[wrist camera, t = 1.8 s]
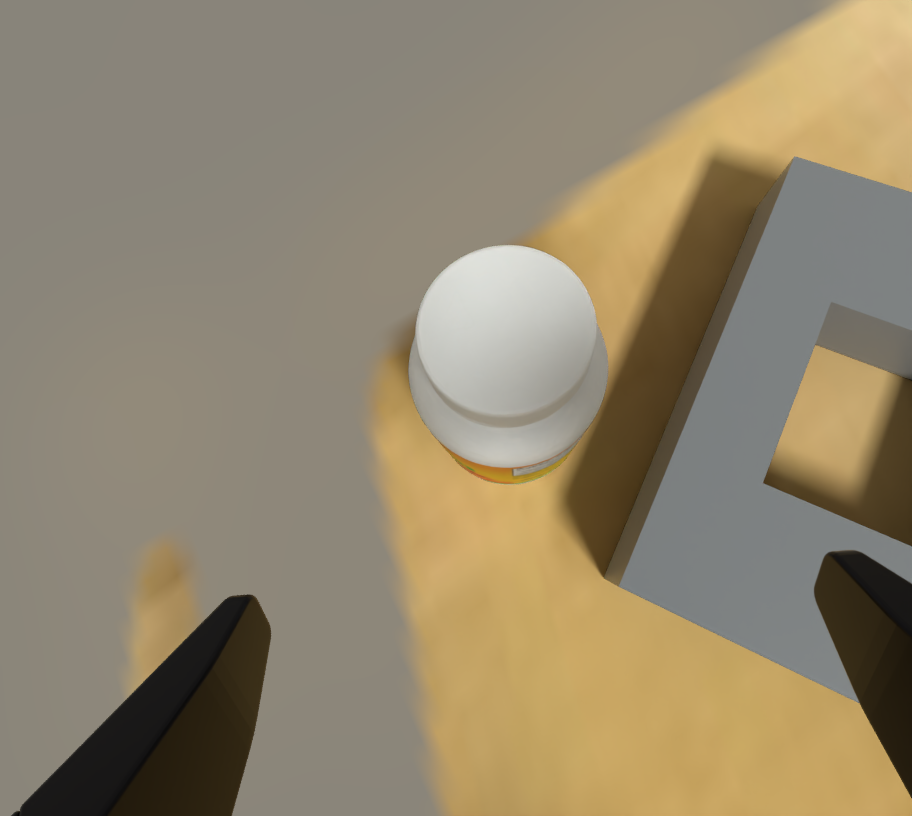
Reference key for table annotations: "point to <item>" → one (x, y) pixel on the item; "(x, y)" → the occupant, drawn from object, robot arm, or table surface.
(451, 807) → the table surface
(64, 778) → the robot arm
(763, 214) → the holder
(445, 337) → the supplement bottle
